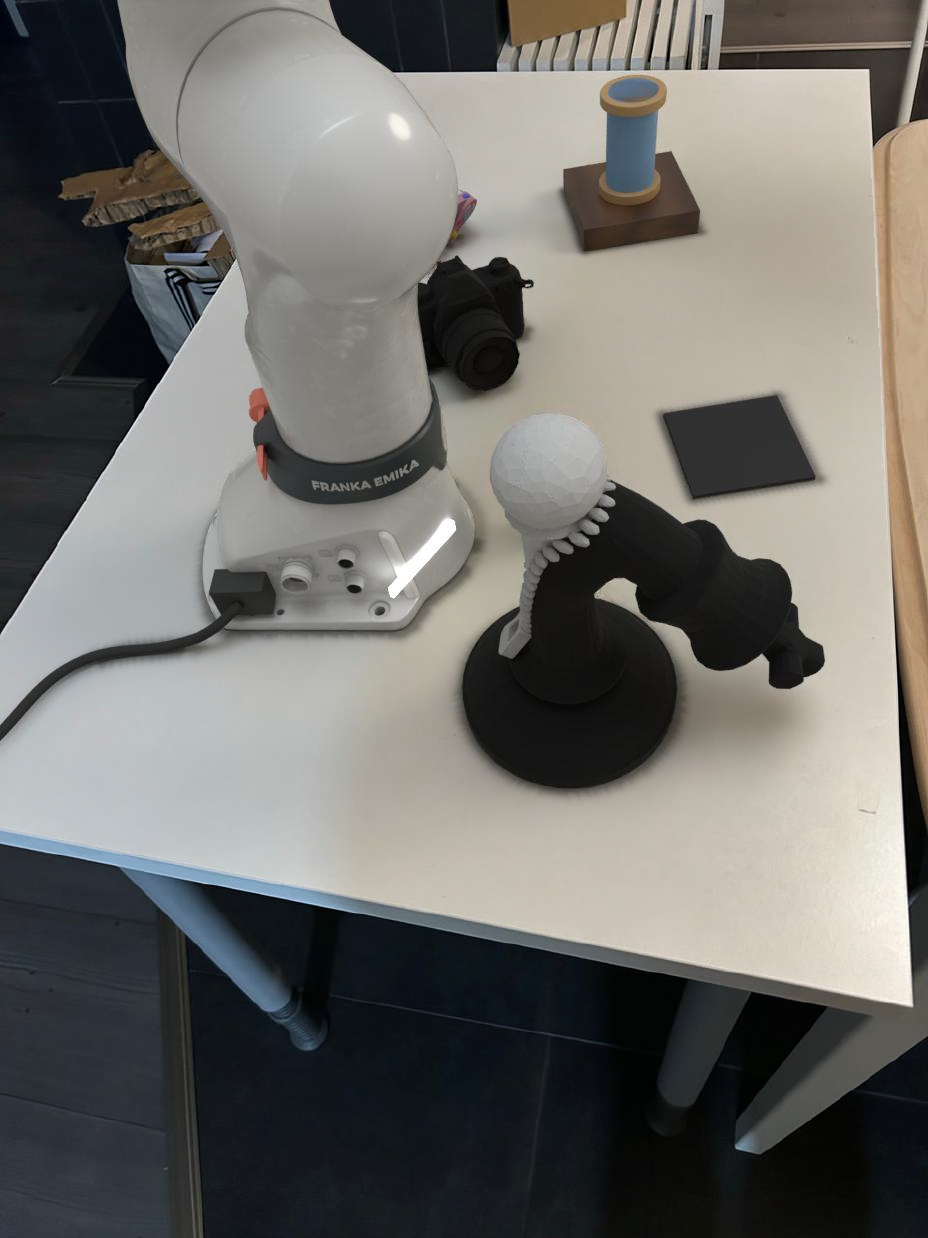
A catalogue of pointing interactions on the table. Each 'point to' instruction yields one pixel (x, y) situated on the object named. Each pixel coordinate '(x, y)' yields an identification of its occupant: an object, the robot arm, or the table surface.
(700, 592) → the sculpture
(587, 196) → the platform
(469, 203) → the pink toy car
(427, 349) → the film camera
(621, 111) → the spool
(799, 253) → the table surface
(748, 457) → the coaster
